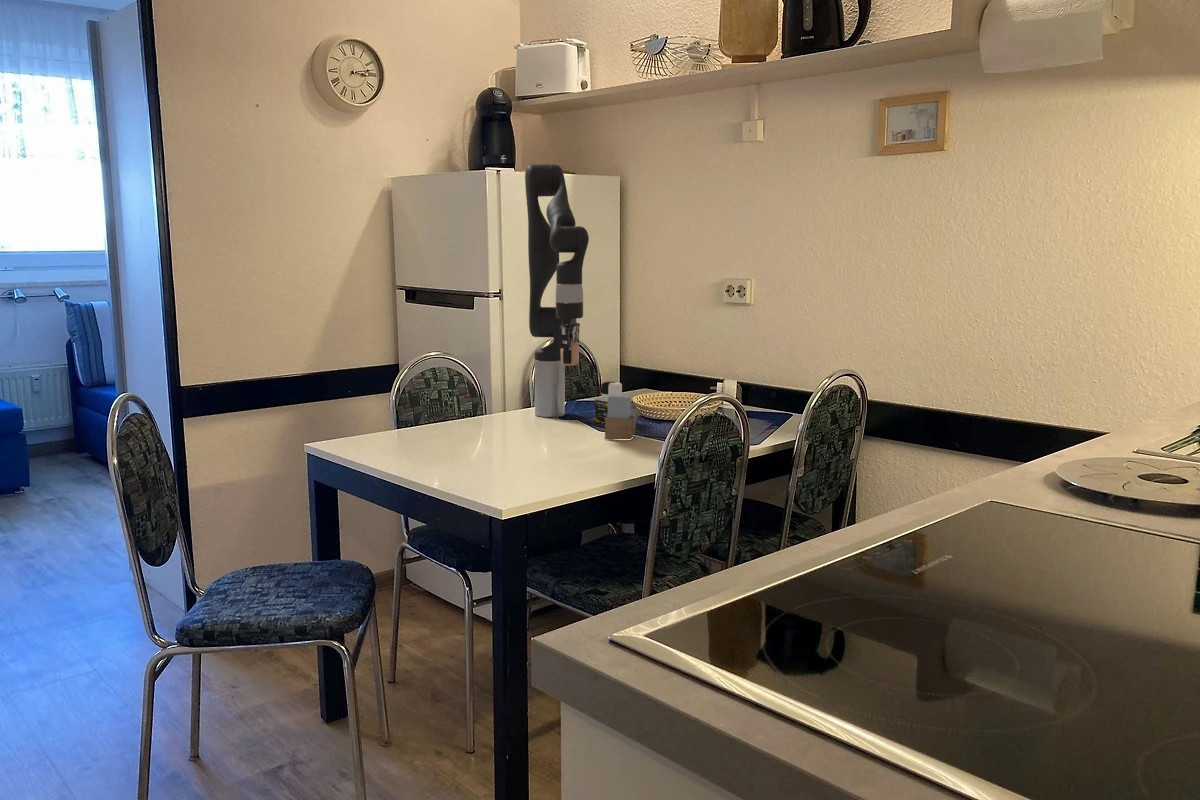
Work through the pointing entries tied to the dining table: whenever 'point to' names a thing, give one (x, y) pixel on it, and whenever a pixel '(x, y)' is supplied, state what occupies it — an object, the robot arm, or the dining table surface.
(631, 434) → the walnut block
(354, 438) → the dining table surface
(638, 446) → the dining table surface
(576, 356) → the terracotta cylinder
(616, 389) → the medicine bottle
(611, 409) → the grey block
